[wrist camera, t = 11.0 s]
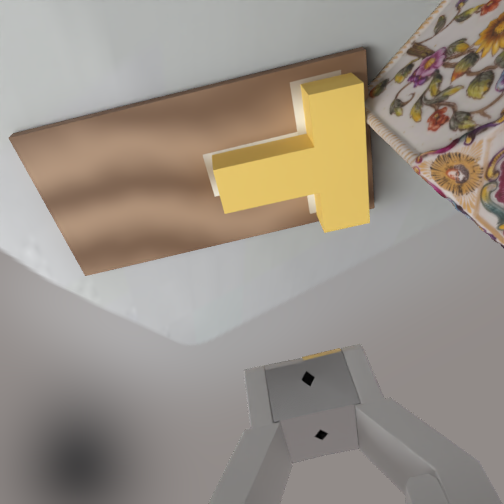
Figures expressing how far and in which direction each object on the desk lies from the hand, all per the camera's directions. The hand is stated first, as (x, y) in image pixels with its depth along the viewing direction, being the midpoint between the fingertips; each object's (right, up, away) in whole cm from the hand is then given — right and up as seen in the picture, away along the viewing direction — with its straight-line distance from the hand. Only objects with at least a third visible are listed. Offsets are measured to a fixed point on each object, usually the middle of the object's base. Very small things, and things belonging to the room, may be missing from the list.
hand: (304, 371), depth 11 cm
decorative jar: (+15, +17, +26) cm, 34 cm away
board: (-5, +10, +27) cm, 29 cm away
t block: (+2, +11, +26) cm, 29 cm away
